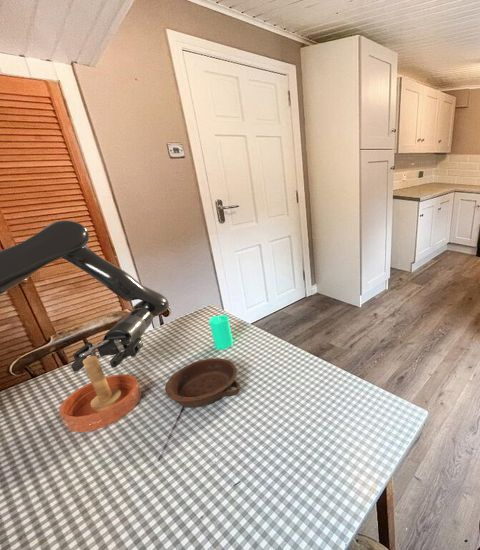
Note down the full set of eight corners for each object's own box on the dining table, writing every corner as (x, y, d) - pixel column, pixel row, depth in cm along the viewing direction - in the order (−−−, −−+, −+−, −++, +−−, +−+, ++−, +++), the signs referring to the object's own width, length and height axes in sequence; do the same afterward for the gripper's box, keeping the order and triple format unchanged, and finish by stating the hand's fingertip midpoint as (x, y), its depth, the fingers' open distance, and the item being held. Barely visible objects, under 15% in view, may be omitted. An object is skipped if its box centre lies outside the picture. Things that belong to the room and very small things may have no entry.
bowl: (50, 439, 72) (41, 424, 70) (91, 392, 86) (85, 378, 84) (123, 428, 75) (117, 413, 73) (152, 384, 89) (147, 371, 87)
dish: (219, 421, 77) (215, 406, 75) (147, 407, 81) (141, 393, 79) (256, 375, 92) (254, 362, 91) (194, 365, 97) (191, 353, 95)
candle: (211, 348, 105) (204, 318, 101) (221, 338, 111) (215, 310, 106) (226, 350, 104) (220, 320, 100) (236, 340, 110) (230, 311, 105)
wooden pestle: (86, 413, 78) (65, 368, 73) (104, 395, 84) (86, 352, 79) (112, 412, 79) (93, 367, 73) (128, 394, 84) (112, 350, 79)
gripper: (95, 324, 89) (55, 358, 74) (149, 319, 92) (120, 351, 77) (104, 345, 92) (66, 382, 77) (156, 340, 94) (129, 374, 80)
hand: (93, 366), depth 77 cm, fingers open, 8 cm apart
